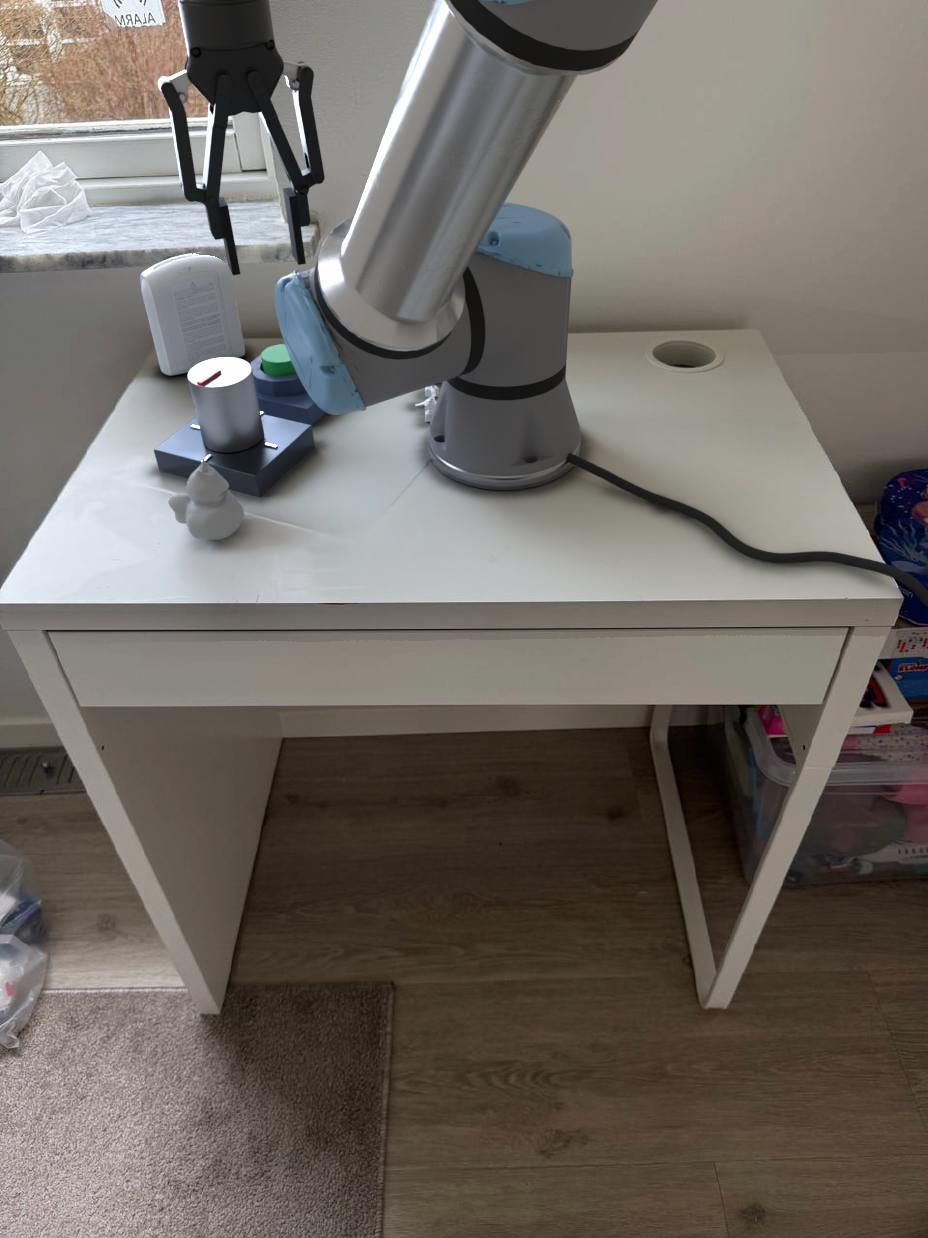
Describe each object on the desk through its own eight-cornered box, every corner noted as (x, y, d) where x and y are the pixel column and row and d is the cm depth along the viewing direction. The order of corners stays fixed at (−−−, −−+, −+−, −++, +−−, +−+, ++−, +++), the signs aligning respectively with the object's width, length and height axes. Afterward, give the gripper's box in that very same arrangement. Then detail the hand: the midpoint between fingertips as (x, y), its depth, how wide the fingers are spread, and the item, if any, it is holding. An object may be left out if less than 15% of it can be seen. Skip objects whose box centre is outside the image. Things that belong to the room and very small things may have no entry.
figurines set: (441, 422, 100) (440, 398, 98) (415, 423, 100) (413, 399, 98) (440, 369, 108) (439, 345, 107) (415, 370, 108) (414, 346, 107)
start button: (312, 362, 103) (310, 347, 101) (290, 380, 100) (287, 365, 98) (278, 355, 104) (275, 340, 103) (255, 373, 101) (252, 358, 100)
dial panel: (315, 445, 97) (312, 423, 95) (259, 498, 90) (254, 475, 88) (219, 422, 101) (214, 400, 99) (158, 471, 94) (151, 448, 92)
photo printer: (237, 343, 114) (217, 240, 106) (252, 356, 112) (232, 251, 104) (155, 367, 110) (128, 261, 102) (168, 381, 108) (141, 274, 99)
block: (352, 388, 105) (348, 355, 103) (309, 427, 99) (304, 393, 97) (269, 371, 109) (264, 338, 106) (223, 407, 103) (216, 373, 100)
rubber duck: (238, 552, 84) (220, 476, 78) (166, 548, 84) (144, 472, 79) (255, 516, 88) (240, 441, 82) (187, 512, 88) (167, 438, 83)
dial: (228, 415, 97) (214, 349, 92) (276, 429, 94) (264, 361, 89) (190, 444, 93) (173, 376, 88) (239, 458, 90) (224, 389, 86)
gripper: (109, 6, 74) (176, 294, 89) (342, -15, 78) (368, 263, 94) (102, -9, 79) (166, 265, 95) (321, -27, 84) (348, 237, 99)
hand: (266, 264), depth 94 cm, fingers open, 6 cm apart
